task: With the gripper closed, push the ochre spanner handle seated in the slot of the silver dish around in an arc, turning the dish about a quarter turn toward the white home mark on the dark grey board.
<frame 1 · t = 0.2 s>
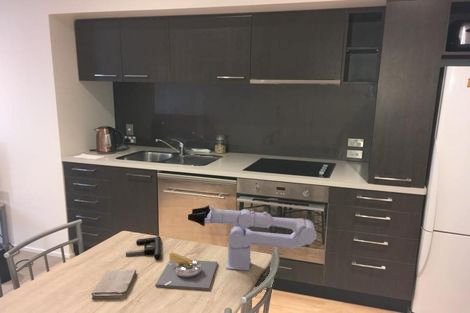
hand: (190, 214, 145), 21 cm above the table, tool horizontal, fingers open, 7 cm apart
nut board: (188, 274, 139), on the table
washcloth: (115, 287, 131), on the table
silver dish: (184, 263, 140), point 4 cm above the table, hinge at 0.0°
door handle: (145, 251, 159), on the table
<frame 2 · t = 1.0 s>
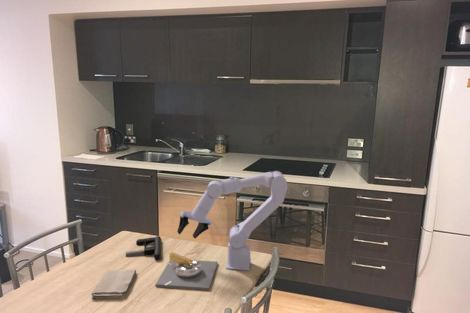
hand: (186, 234, 144), 13 cm above the table, tool tilted 30°, fingers open, 7 cm apart
nothing on the table moved.
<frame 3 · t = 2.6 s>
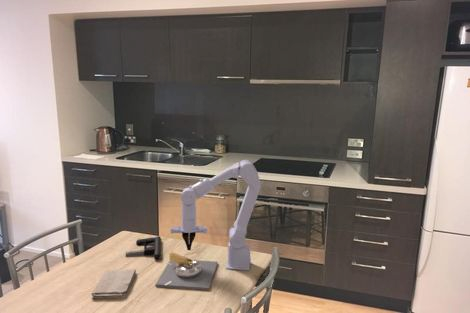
hand: (189, 249, 145), 7 cm above the table, tool pointing down, fingers closed
nothing on the table moved.
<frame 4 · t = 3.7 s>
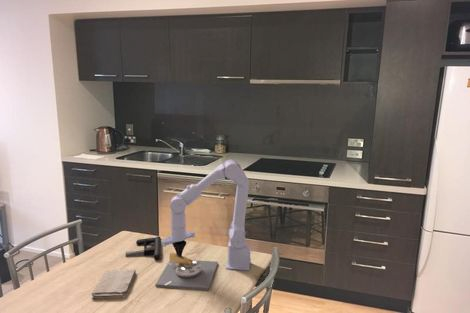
hand: (179, 257, 143), 4 cm above the table, tool pointing down, fingers closed, pressing on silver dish
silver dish: (184, 263, 140), point 4 cm above the table, hinge at 0.3°, touching gripper
everything else where it was.
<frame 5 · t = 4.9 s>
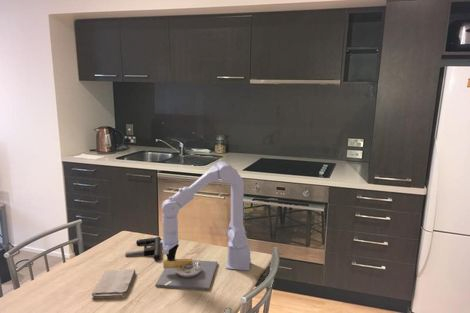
hand: (171, 262, 139), 4 cm above the table, tool pointing down, fingers closed, pressing on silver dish
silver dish: (182, 265, 138), point 4 cm above the table, hinge at 41.1°, touching gripper
everything else where it was.
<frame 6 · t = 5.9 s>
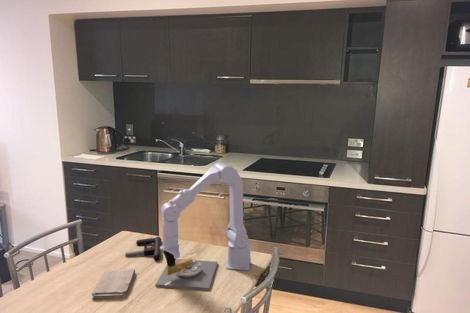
hand: (171, 268, 135), 4 cm above the table, tool pointing down, fingers closed, pressing on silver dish
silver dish: (183, 267, 137), point 4 cm above the table, hinge at 75.7°, touching gripper
everything else where it was.
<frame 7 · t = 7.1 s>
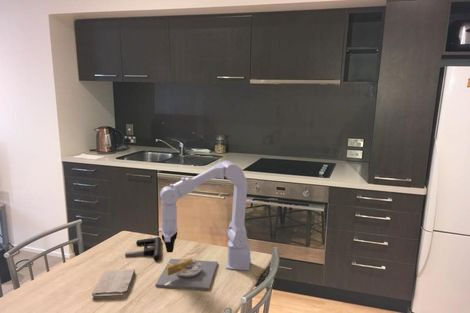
hand: (170, 251, 137), 10 cm above the table, tool pointing down, fingers closed
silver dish: (183, 267, 137), point 4 cm above the table, hinge at 77.3°
everything else where it was.
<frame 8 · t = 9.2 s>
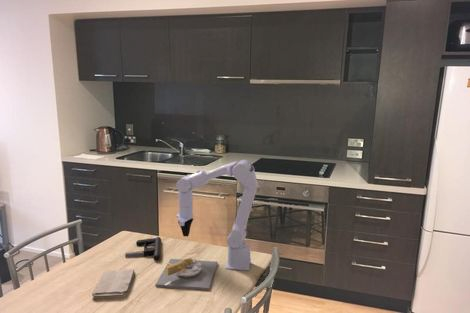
hand: (186, 235, 150), 10 cm above the table, tool pointing down, fingers closed
at the end: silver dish at +77° (first picture: +0°) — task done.
